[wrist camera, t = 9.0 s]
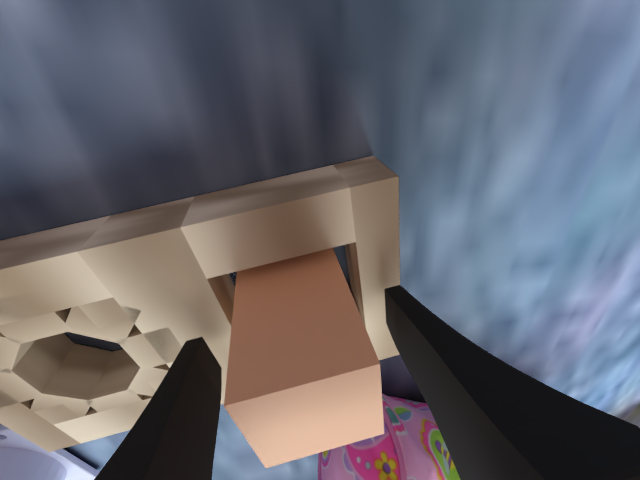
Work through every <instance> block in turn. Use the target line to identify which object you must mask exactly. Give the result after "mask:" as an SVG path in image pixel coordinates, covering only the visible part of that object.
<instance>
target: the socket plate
mask: <svg viewBox="0 0 640 480" xmlns="http://www.w3.org/2000/svg"><path fill="white" fill-rule="evenodd" d="M341 245H344V246H345V253H346V260H347V267H348V274H349V281H350V288H351V294H352V296H353V298H354V301H355V303H356V306H357V308H358V311H359V313H360V316H361V318H362V321H363V323H364V325H365V328H366V330H367V333H368V335H369V338H370V340H371V343H372V345H373V347H374V350H375V352H376V355H377V357H378V360H382V359H386V358H390V357H393V356H397V355H400V353H399V352H398V350H397V348H396V346H395V343H394V341H393V339H392V336H391V334H390V331H389V329H388V326H387V324H386V311H385V292H384V289H386V288H389V287H393V286H397V285H400V249H399V176H398V175H397V174H395V173H394V172H393V171H392V170H390V169H389V168H388V167H387V166H385V165H384V164H383V163H382V162H381V161H379V160H378V159H377V158H376V157H374V156H369V157H365V158H360V159H356V160H352V161H347V162H343V163H338V164H334V165H330V166H325V167H321V168H317V169H312V170H308V171H303V172H299V173H295V174H290V175H286V176H281V177H277V178H273V179H268V180H264V181H260V182H255V183H251V184H246V185H242V186H238V187H233V188H229V189H224V190H220V191H216V192H211V193H207V194H203V195H198V196H194V197H189V198H185V199H181V200H176V201H172V202H167V203H163V204H159V205H154V206H150V207H146V208H141V209H137V210H132V211H128V212H124V213H119V214H115V215H110V216H106V217H102V218H97V219H93V220H88V221H84V222H80V223H75V224H71V225H67V226H62V227H58V228H53V229H49V230H45V231H40V232H36V233H31V234H27V235H23V236H18V237H14V238H10V239H5V240H1V241H0V424H2V425H4V426H5V427H7V428H9V429H10V430H12V431H14V432H16V433H17V434H19V435H21V436H22V437H24V438H26V439H27V440H29V441H31V442H33V443H34V444H36V445H38V446H39V447H41V448H43V449H44V450H46V451H48V452H52V451H56V450H59V449H63V448H66V447H70V446H74V445H77V444H81V443H84V442H88V441H92V440H95V439H99V438H102V437H106V436H109V435H113V434H117V433H120V432H124V431H127V430H131V429H132V427H133V426H134V424H135V423H136V421H137V420H138V418H139V417H140V415H141V414H142V412H143V411H144V409H145V408H146V406H147V405H148V403H149V401H150V400H151V398H152V397H153V395H154V393H155V392H156V390H157V388H158V387H159V385H160V384H161V382H162V380H163V379H164V377H165V375H166V374H167V372H168V370H169V369H170V367H171V365H172V364H173V362H174V360H175V358H176V357H177V355H178V353H179V352H180V350H181V348H182V347H183V345H184V343H185V342H186V341H188V340H191V339H195V338H199V337H203V339H204V340H205V342H206V343H207V345H208V347H209V348H210V350H211V352H212V353H213V355H214V356H215V358H216V360H217V361H218V363H219V364H220V366H221V368H222V391H221V404H224V400H225V389H226V379H227V368H228V358H229V347H230V337H231V326H232V316H233V305H234V295H235V285H234V283H233V281H232V279H231V276H230V274H229V273H233V272H237V271H241V270H245V269H249V268H253V267H257V266H261V265H265V264H269V263H273V262H277V261H281V260H285V259H289V258H293V257H297V256H301V255H305V254H309V253H313V252H317V251H321V250H325V249H329V248H333V247H337V246H341ZM65 332H71V333H75V334H80V335H84V336H89V337H93V338H97V339H102V340H106V341H111V342H115V343H119V344H120V345H121V347H122V348H123V349H121V350H117V351H113V352H112V351H108V350H103V349H98V348H93V347H89V346H84V345H79V344H75V343H73V342H72V341H71V340H70V339H69V338H68V337H67V336H66V335H65V334H64V333H65ZM221 404H220V405H221Z"/></svg>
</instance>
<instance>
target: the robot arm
mask: <svg viewBox="0 0 640 480" xmlns="http://www.w3.org/2000/svg"><path fill="white" fill-rule="evenodd" d="M384 292H385V311H386V324H387V326H388V329H389V331H390V334H391V336H392V339H393V341H394V343H395V346H396V348H397V350H398V352H399V353H400V355H401V357H402V359H403V361H404V363H405V364H406V366H407V368H408V370H409V372H410V374H411V375H412V377H413V379H414V381H415V383H416V384H417V386H418V388H419V390H420V392H421V394H422V395H423V397H424V399H425V401H426V403H427V405H428V407H429V409H430V411H431V413H432V415H433V417H434V419H435V422H436V424H437V426H438V428H439V431H440V433H441V435H442V437H443V440H444V442H445V444H446V447H447V449H448V451H449V454H450V456H451V458H452V461H453V463H454V465H455V468H456V470H457V472H458V475H459V477H460V480H640V428H639V427H638V426H636V425H633V424H631V423H629V422H626V421H624V420H622V419H619V418H617V417H615V416H612V415H610V414H607V413H605V412H603V411H600V410H598V409H596V408H593V407H591V406H589V405H586V404H584V403H582V402H580V401H578V400H576V399H574V398H572V397H569V396H567V395H565V394H563V393H561V392H559V391H557V390H555V389H553V388H551V387H549V386H547V385H545V384H543V383H542V382H540V381H538V380H536V379H534V378H532V377H530V376H528V375H526V374H524V373H522V372H521V371H519V370H517V369H515V368H513V367H512V366H510V365H508V364H507V363H505V362H503V361H501V360H500V359H498V358H496V357H495V356H493V355H491V354H490V353H488V352H487V351H485V350H483V349H482V348H480V347H479V346H477V345H476V344H474V343H473V342H471V341H470V340H468V339H467V338H466V337H464V336H463V335H461V334H460V333H458V332H457V331H456V330H454V329H453V328H452V327H450V326H449V325H447V324H446V323H445V322H444V321H442V320H441V319H440V318H438V317H437V316H436V315H435V314H433V313H432V312H431V311H430V310H428V309H427V308H426V307H425V306H424V305H422V304H421V303H420V302H419V301H418V300H416V299H415V298H414V297H413V296H412V295H411V294H409V293H408V292H407V291H406V290H405V289H404V288H403V287H402V286H400V285H397V286H393V287H389V288H386V289H384ZM221 391H222V368H221V366H220V364H219V363H218V361H217V360H216V358H215V356H214V355H213V353H212V352H211V350H210V348H209V347H208V345H207V343H206V342H205V340H204V339H203V337H199V338H195V339H191V340H188V341H186V342H185V343H184V345H183V347H182V348H181V350H180V352H179V353H178V355H177V357H176V358H175V360H174V362H173V364H172V365H171V367H170V369H169V370H168V372H167V374H166V375H165V377H164V379H163V380H162V382H161V384H160V385H159V387H158V388H157V390H156V392H155V393H154V395H153V397H152V398H151V400H150V401H149V403H148V405H147V406H146V408H145V409H144V411H143V412H142V414H141V415H140V417H139V418H138V420H137V421H136V423H135V424H134V426H133V427H132V429H131V430H130V432H129V433H128V435H127V436H126V437H125V439H124V440H123V442H122V443H121V444H120V446H119V447H118V449H117V450H116V451H115V453H114V454H113V455H112V457H111V458H110V459H109V461H108V462H107V463H106V465H105V466H104V467H103V469H102V470H101V471H100V472H99V471H98V470H96V469H94V468H93V467H91V466H90V465H88V464H86V463H85V462H83V461H82V460H80V459H78V458H77V457H75V456H74V455H72V454H70V453H69V452H67V451H66V450H64V449H59V450H56V451H52V452H48V451H46V450H44V449H43V448H41V447H39V446H38V445H36V444H34V443H33V442H31V441H29V440H27V439H26V438H24V437H22V436H21V435H19V434H17V433H16V432H14V431H12V430H10V429H9V428H7V427H5V426H4V425H0V480H212V468H213V459H214V451H215V443H216V435H217V428H218V420H219V412H220V404H221Z"/></svg>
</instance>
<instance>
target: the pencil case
mask: <svg viewBox="0 0 640 480" xmlns="http://www.w3.org/2000/svg"><path fill="white" fill-rule="evenodd" d="M382 403H383V420H384V434H382V435H378V436H375V437H371V438H368V439H364V440H361V441H358V442H354V443H351V444H347V445H344V446H340V447H337V448H334V449H330V450H327V451H323V452H320V453H319V457H318V480H460V477H459V475H458V472H457V470H456V468H455V465H454V463H453V461H452V458H451V456H450V454H449V451H448V449H447V447H446V444H445V442H444V440H443V437H442V435H441V433H440V431H439V428H438V426H437V424H436V422H435V419H434V417H433V415H432V413H431V411H430V409H429V407H428V405H427V403H422V402H416V401H412V400H407V399H401V398H397V397H391V396H386V395H384V394H383V393H382Z"/></svg>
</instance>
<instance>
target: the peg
mask: <svg viewBox="0 0 640 480" xmlns="http://www.w3.org/2000/svg"><path fill="white" fill-rule="evenodd" d="M224 407H225V409H226V410H227V412H228V413H229V415H230V416H231V417H232V419H233V420H234V422H235V423H236V425H237V426H238V428H239V429H240V431H241V432H242V434H243V435H244V437H245V438H246V440H247V441H248V443H249V444H250V446H251V447H252V449H253V450H254V451H255V453H256V454H257V456H258V457H259V459H260V460H261V462H262V463H263V465H264V466H265V468H268V467H272V466H275V465H279V464H282V463H285V462H289V461H292V460H296V459H299V458H303V457H306V456H309V455H313V454H316V453H320V452H323V451H327V450H330V449H334V448H337V447H340V446H344V445H347V444H351V443H354V442H358V441H361V440H364V439H368V438H371V437H375V436H378V435H382V434H384V420H383V403H382V386H381V370H380V362H379V360H378V357H377V355H376V352H375V350H374V347H373V345H372V343H371V340H370V338H369V335H368V333H367V330H366V328H365V325H364V323H363V321H362V318H361V316H360V313H359V311H358V308H357V306H356V303H355V301H354V298H353V296H352V294H351V291H350V289H349V286H348V284H347V281H346V279H345V276H344V274H343V272H342V269H341V267H340V264H339V262H338V259H337V257H336V254H335V252H334V249H333V248H329V249H325V250H321V251H317V252H313V253H309V254H305V255H301V256H297V257H293V258H289V259H285V260H281V261H277V262H273V263H269V264H265V265H261V266H257V267H253V268H249V269H245V270H241V271H237V274H236V284H235V295H234V305H233V316H232V326H231V337H230V347H229V358H228V368H227V379H226V389H225V400H224Z"/></svg>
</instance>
